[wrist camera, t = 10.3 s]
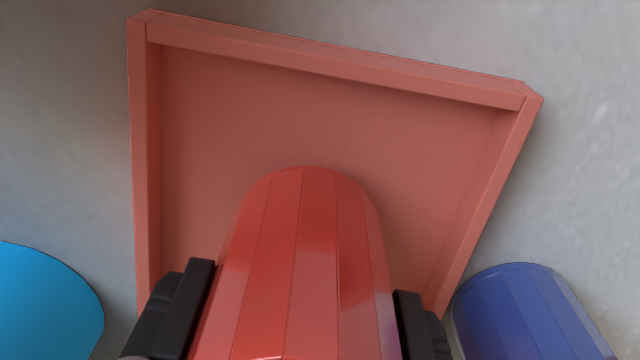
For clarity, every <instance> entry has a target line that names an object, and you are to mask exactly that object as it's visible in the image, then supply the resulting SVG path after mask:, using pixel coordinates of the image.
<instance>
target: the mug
mask: <svg viewBox="0 0 640 360" xmlns="http://www.w3.org/2000/svg"><path fill="white" fill-rule="evenodd" d="M103 331H104V312H103V309H102V307H101V304H100V302H99V299H98V297H97V295H96V294H95V293H94V292H93V290H92V289H91V288H90V287H89V285H88V284H87V283H86V282H85V281H84V279H83V278H82V277H81V276H79V275H78V274H76V273H75V272H74V271H72V270H71V269H70V268H68V267H67V266H66V265H64V264H63V263H62V262H60V261H59V260H56V259H54V258H52V257H50V256H48V255H45V254H43V253H41V252H39V251H37V250H35V249H32V248H28V247H24V246H20V245H15V244H11V243H6V242H0V360H87V359H88V358H89V356H90V354H91V352H92V350H93V349H94V347H95V345H96V343H97V342H98V340H99V338H100V336H101V335H102V333H103Z"/></svg>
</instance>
